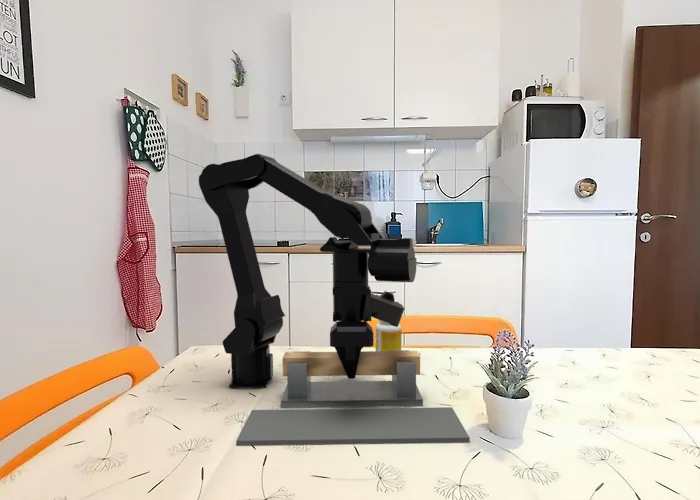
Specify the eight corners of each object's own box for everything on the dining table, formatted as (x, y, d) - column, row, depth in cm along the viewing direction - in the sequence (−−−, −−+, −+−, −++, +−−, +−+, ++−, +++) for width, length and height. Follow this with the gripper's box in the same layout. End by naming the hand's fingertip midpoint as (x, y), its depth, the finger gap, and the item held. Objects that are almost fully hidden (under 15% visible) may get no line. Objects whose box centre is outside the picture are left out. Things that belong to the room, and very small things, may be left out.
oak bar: (282, 376, 67) (282, 358, 67) (285, 370, 70) (285, 352, 70) (420, 374, 67) (420, 356, 67) (417, 368, 70) (416, 350, 70)
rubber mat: (236, 445, 54) (236, 440, 54) (252, 413, 63) (252, 409, 63) (469, 442, 54) (469, 437, 54) (452, 411, 63) (452, 407, 63)
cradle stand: (280, 407, 65) (280, 366, 64) (288, 387, 73) (287, 350, 72) (423, 405, 65) (423, 364, 65) (414, 386, 73) (414, 349, 73)
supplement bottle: (370, 358, 88) (370, 313, 88) (388, 353, 92) (388, 310, 91) (388, 365, 84) (388, 317, 84) (406, 359, 88) (406, 314, 87)
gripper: (409, 288, 59) (409, 397, 59) (393, 273, 77) (394, 356, 78) (329, 288, 58) (330, 398, 59) (333, 273, 77) (334, 357, 78)
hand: (351, 374), depth 69 cm, fingers closed on oak bar, 3 cm apart
